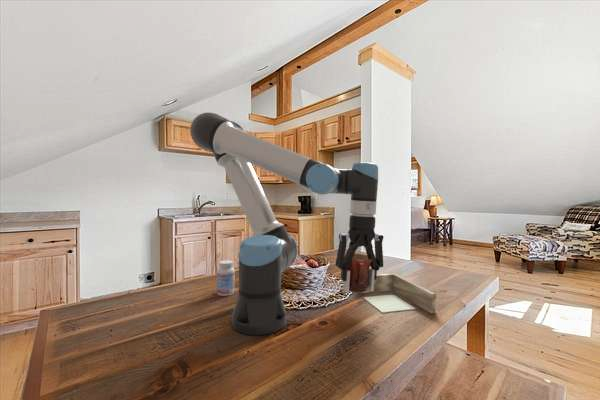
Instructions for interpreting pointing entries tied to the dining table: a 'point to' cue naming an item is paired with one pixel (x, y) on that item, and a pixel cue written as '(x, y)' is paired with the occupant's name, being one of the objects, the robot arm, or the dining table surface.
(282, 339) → the dining table surface
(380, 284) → the side wall
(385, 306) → the pad
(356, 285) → the mug
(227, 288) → the pill bottle
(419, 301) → the back wall
